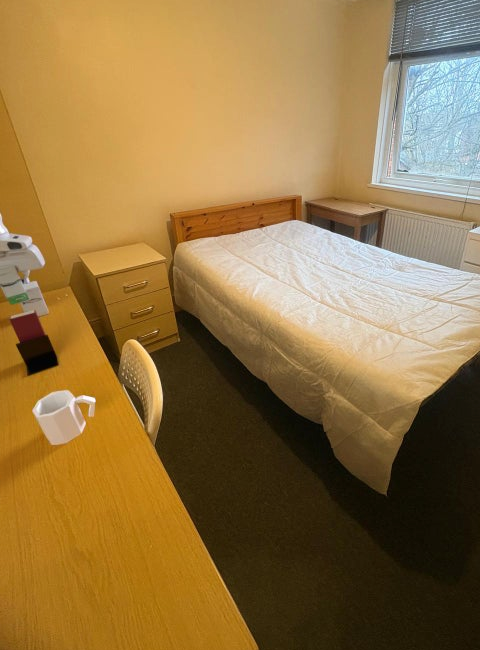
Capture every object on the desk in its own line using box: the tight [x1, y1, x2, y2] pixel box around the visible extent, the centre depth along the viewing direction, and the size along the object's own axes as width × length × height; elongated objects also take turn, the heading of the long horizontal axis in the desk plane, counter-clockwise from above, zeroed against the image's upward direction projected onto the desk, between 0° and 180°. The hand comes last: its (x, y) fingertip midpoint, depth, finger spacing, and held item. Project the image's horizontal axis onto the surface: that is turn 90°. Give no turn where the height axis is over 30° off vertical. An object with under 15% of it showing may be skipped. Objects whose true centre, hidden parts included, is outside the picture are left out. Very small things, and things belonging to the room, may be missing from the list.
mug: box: [31, 389, 96, 446], centre depth 80 cm, size 12×9×10 cm
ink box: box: [0, 265, 29, 306], centre depth 99 cm, size 9×5×12 cm, turn 48°
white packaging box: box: [19, 280, 50, 318], centre depth 127 cm, size 7×7×13 cm
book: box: [9, 310, 47, 343], centre depth 103 cm, size 16×6×3 cm
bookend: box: [15, 334, 60, 377], centre depth 100 cm, size 6×8×9 cm
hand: (12, 285), depth 100 cm, fingers closed on ink box, 6 cm apart
